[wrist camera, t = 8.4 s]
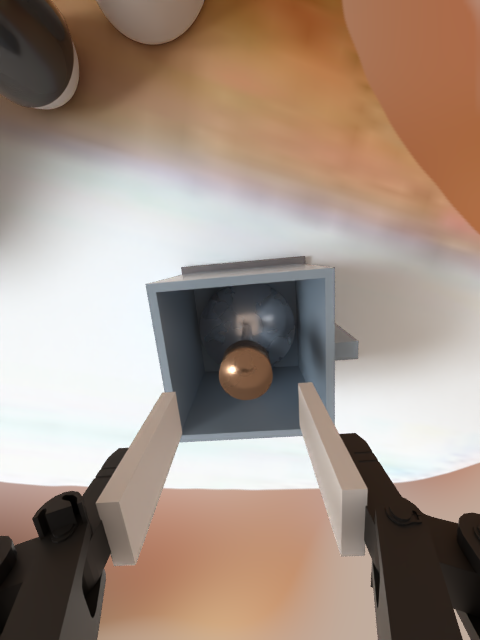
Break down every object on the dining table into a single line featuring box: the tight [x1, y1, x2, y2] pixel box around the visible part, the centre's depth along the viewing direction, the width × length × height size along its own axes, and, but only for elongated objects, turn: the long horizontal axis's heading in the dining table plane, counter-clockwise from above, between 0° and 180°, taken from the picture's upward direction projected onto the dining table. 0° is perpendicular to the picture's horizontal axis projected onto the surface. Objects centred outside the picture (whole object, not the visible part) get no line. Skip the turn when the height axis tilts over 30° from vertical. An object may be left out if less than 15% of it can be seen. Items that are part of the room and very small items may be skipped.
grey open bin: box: [146, 256, 358, 442], centre depth 28 cm, size 18×16×15 cm
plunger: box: [200, 283, 295, 400], centre depth 25 cm, size 12×12×13 cm
